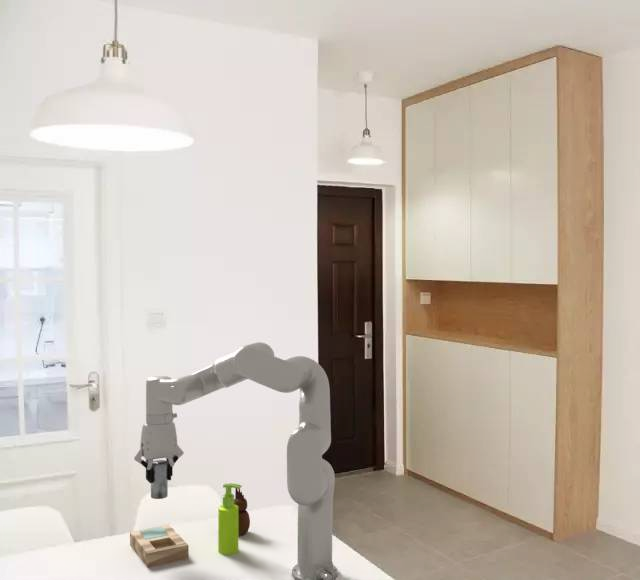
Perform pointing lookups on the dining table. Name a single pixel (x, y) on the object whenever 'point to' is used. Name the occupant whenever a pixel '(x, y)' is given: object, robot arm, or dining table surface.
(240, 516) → the wooden figurine
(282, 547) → the dining table surface
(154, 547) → the housing
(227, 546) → the soap dispenser
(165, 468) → the grey cylinder
